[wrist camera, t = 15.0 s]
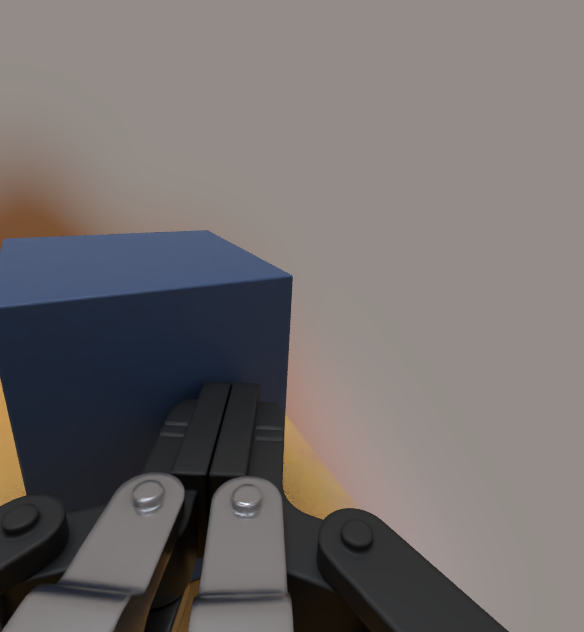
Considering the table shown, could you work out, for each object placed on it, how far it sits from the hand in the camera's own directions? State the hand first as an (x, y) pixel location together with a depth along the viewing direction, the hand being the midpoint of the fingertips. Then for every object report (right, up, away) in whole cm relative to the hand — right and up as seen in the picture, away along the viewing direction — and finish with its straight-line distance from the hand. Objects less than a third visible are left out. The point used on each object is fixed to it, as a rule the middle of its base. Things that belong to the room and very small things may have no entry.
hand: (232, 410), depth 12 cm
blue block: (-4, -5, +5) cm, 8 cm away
